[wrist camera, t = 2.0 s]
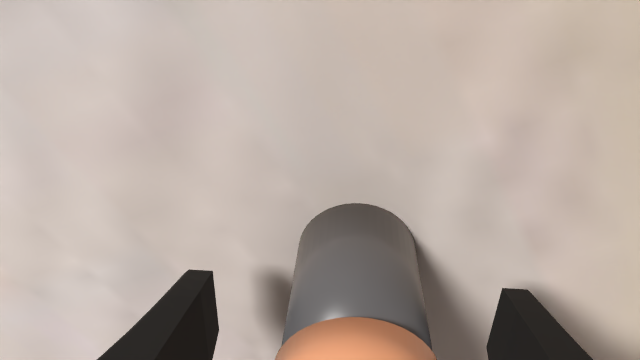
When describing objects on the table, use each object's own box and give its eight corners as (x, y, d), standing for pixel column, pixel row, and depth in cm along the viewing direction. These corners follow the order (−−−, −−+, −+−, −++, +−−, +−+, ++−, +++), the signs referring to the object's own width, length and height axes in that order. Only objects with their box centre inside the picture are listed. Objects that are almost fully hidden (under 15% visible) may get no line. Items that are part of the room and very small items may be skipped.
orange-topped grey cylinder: (444, 239, 14) (495, 439, 9) (372, 315, 16) (379, 522, 10) (337, 178, 13) (324, 357, 8) (273, 264, 15) (228, 460, 10)
